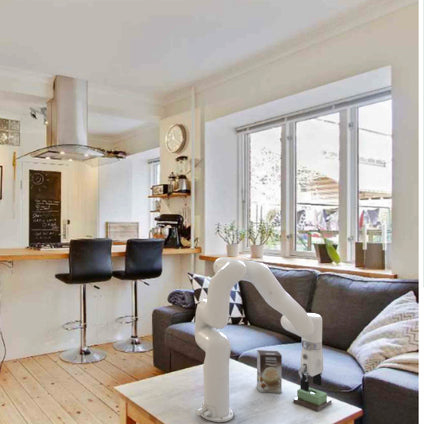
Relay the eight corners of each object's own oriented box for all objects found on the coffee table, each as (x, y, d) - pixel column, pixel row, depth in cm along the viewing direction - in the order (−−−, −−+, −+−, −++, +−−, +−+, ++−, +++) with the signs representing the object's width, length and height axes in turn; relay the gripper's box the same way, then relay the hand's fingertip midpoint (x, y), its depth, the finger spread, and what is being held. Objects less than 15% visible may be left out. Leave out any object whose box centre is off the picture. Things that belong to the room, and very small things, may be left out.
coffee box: (260, 392, 179) (259, 354, 179) (256, 386, 185) (256, 349, 185) (282, 393, 178) (281, 355, 178) (278, 386, 184) (277, 350, 184)
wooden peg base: (317, 411, 162) (317, 401, 162) (293, 402, 170) (293, 392, 170) (331, 403, 169) (331, 393, 168) (307, 394, 176) (307, 385, 176)
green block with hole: (318, 405, 164) (318, 397, 164) (297, 397, 171) (297, 390, 171) (327, 400, 168) (327, 393, 168) (305, 393, 175) (305, 385, 175)
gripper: (309, 351, 161) (308, 396, 161) (331, 343, 171) (330, 385, 171) (291, 346, 167) (290, 389, 167) (313, 338, 177) (312, 379, 177)
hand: (310, 387), depth 169 cm, fingers open, 9 cm apart
